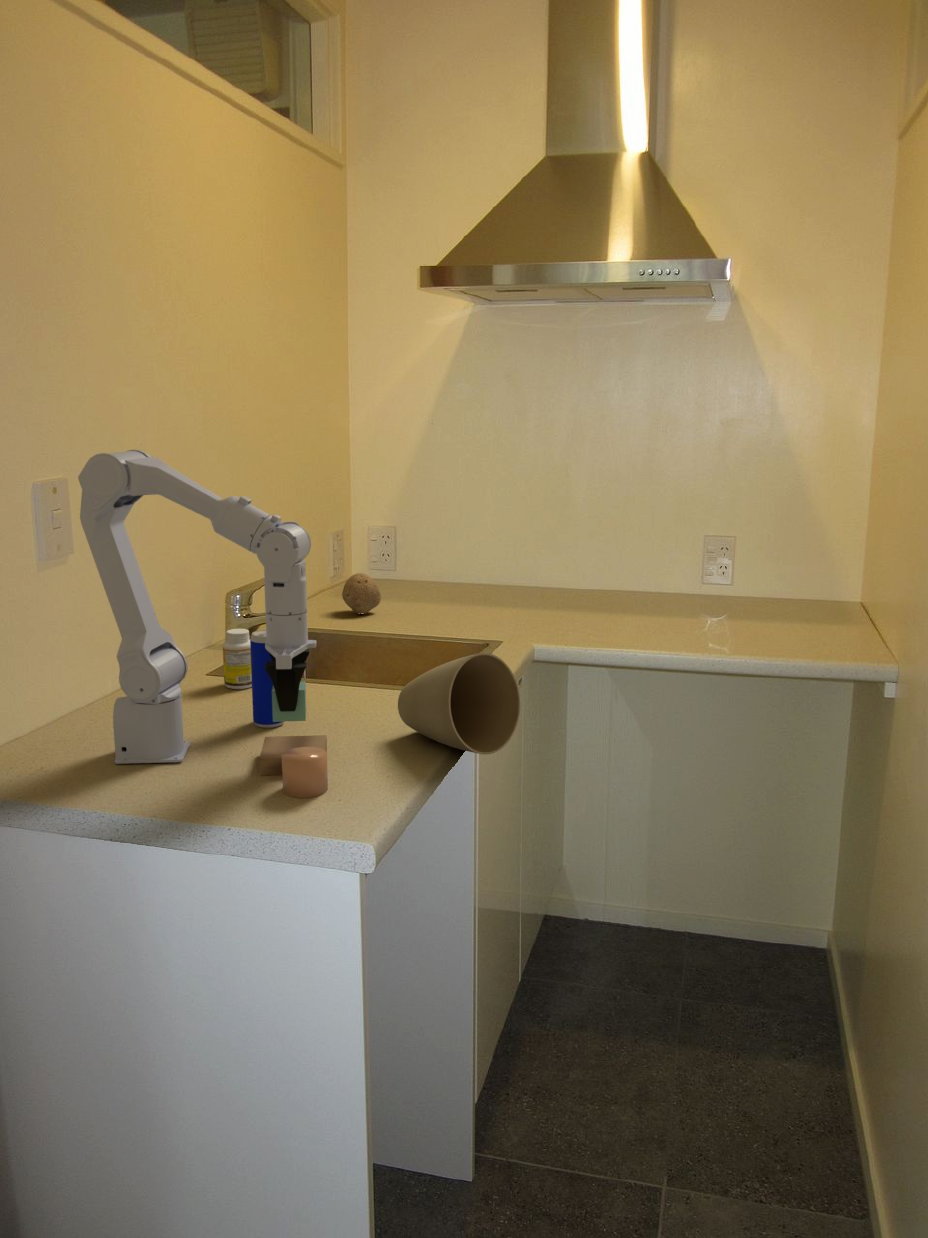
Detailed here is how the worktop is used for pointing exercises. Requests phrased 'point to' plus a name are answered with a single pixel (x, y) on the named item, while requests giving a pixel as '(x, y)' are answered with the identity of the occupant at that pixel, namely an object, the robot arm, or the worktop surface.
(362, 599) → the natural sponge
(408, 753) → the worktop surface
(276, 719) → the cube
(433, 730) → the plant pot
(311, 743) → the base
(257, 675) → the beverage can
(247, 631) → the supplement bottle
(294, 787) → the rounded knob
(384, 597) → the worktop surface
